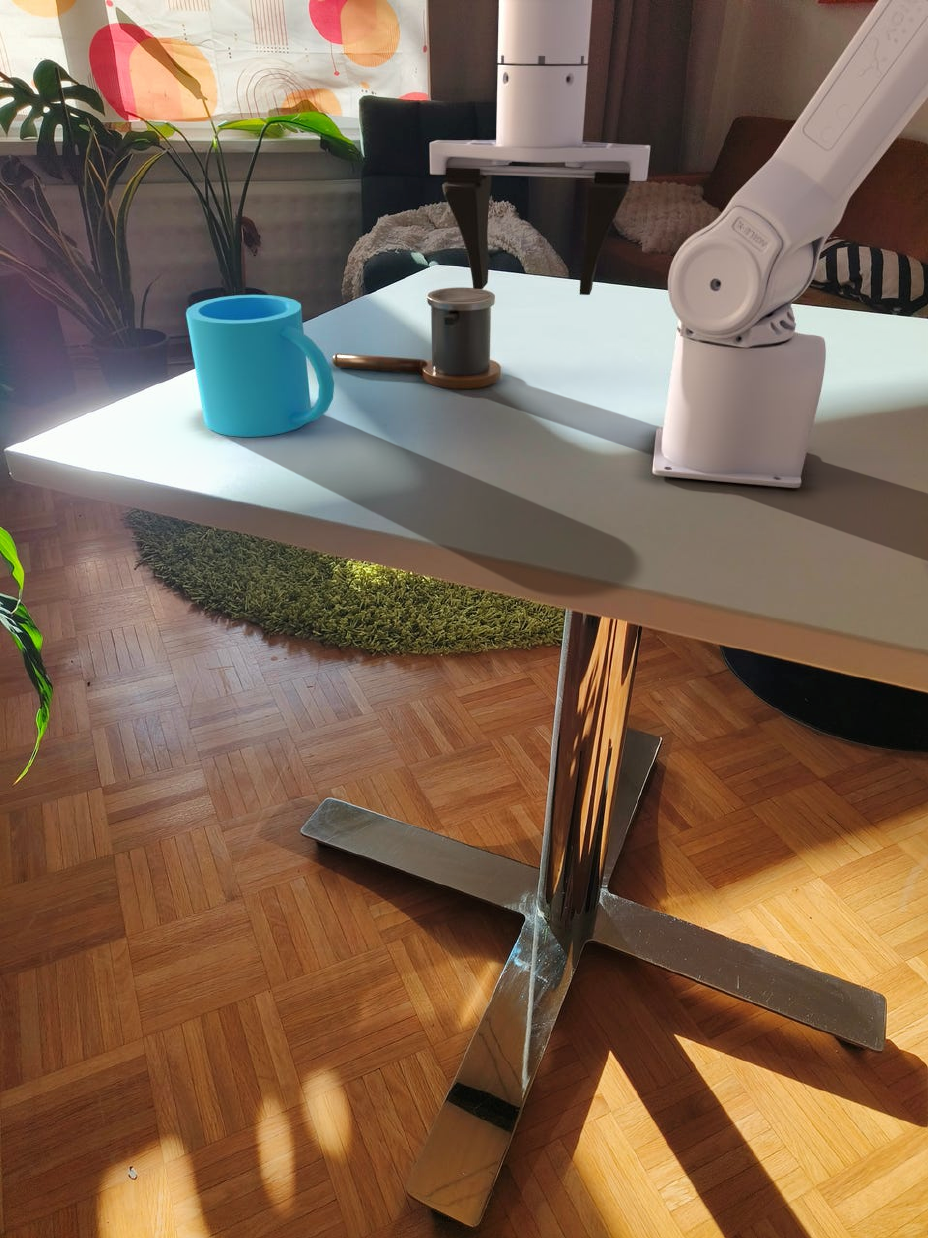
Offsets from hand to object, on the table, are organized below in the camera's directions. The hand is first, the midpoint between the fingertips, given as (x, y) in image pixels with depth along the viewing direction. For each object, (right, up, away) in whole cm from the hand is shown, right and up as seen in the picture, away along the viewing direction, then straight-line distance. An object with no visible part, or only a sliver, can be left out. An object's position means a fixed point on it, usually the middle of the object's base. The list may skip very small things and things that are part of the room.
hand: (532, 288), depth 62 cm
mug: (-19, -9, +4) cm, 22 cm away
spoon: (-9, -2, +14) cm, 17 cm away
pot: (-5, -2, +13) cm, 14 cm away
